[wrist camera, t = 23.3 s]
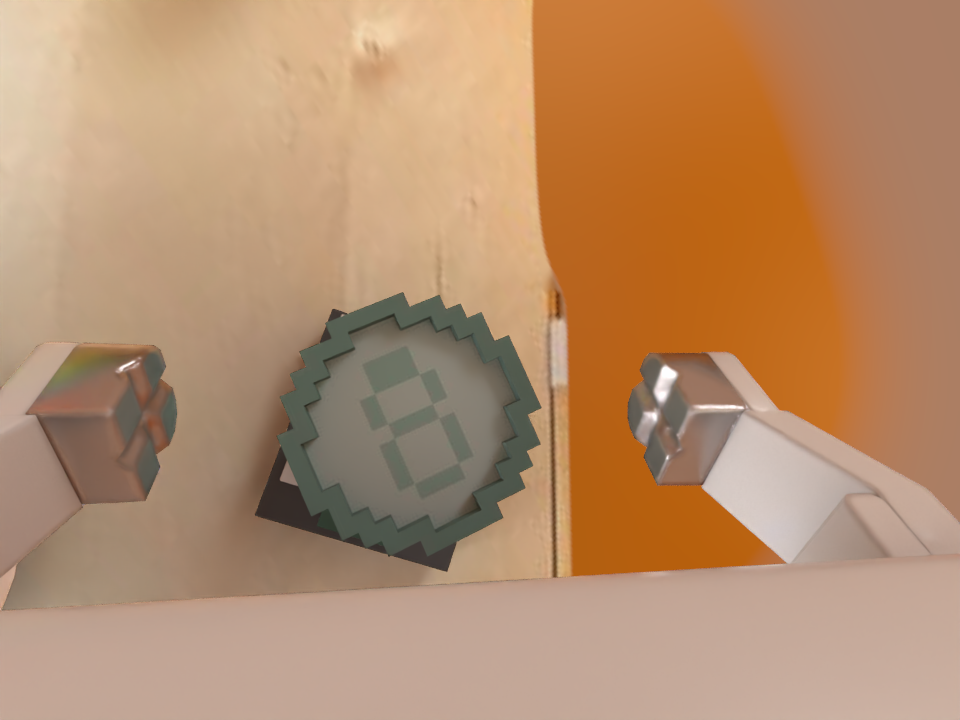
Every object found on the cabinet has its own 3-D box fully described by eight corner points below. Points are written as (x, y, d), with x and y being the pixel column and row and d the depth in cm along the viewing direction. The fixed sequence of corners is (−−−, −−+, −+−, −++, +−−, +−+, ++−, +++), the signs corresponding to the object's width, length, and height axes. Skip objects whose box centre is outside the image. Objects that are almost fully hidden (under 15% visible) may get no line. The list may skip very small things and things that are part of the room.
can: (427, 345, 29) (476, 263, 14) (475, 452, 29) (574, 481, 14) (316, 392, 27) (242, 356, 13) (365, 504, 27) (346, 598, 13)
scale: (441, 558, 31) (448, 575, 28) (266, 506, 30) (251, 517, 26) (499, 375, 33) (513, 369, 29) (337, 319, 32) (331, 305, 28)
